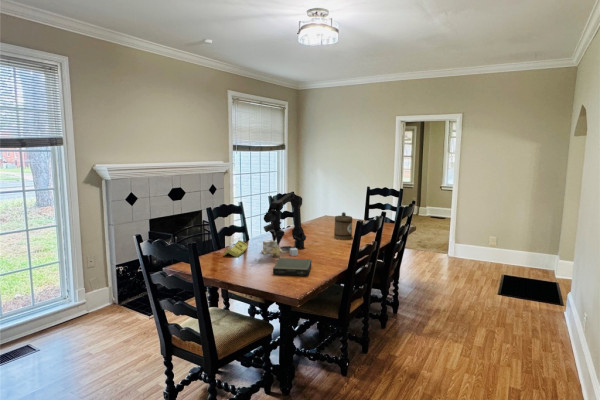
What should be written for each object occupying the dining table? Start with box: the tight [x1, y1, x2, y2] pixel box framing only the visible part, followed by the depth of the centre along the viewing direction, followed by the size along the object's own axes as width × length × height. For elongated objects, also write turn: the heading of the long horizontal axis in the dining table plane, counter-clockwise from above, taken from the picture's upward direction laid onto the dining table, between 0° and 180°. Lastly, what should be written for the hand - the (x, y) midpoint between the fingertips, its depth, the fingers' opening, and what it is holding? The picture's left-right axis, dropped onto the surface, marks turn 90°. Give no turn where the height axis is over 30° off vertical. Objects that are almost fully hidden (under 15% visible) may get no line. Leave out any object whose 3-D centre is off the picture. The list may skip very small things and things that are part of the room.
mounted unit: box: [261, 239, 294, 255], centre depth 269 cm, size 23×8×8 cm, turn 111°
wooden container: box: [333, 211, 353, 241], centre depth 313 cm, size 15×15×22 cm
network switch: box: [272, 257, 312, 277], centre depth 227 cm, size 23×24×5 cm
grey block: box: [289, 247, 299, 257], centre depth 261 cm, size 4×4×4 cm
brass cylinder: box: [272, 247, 281, 259], centre depth 257 cm, size 5×5×6 cm
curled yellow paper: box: [223, 240, 248, 258], centre depth 264 cm, size 20×7×10 cm
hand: (276, 242), depth 256 cm, fingers open, 9 cm apart
